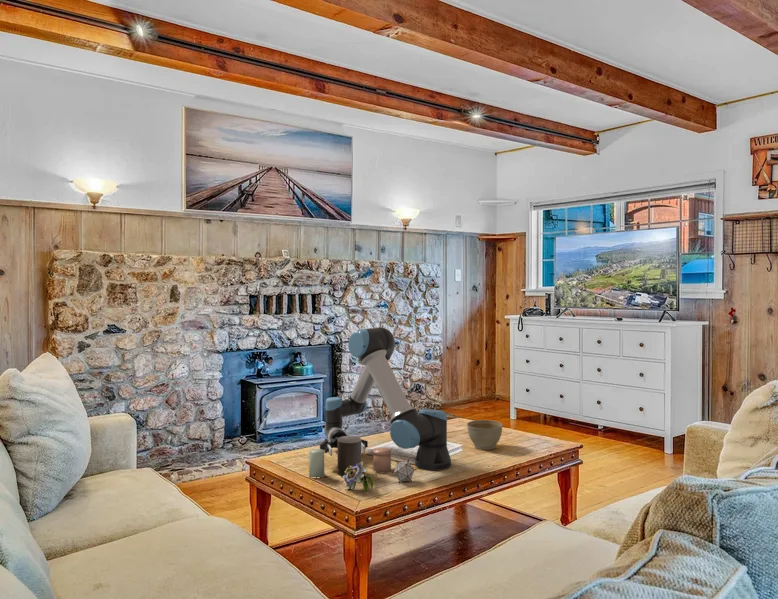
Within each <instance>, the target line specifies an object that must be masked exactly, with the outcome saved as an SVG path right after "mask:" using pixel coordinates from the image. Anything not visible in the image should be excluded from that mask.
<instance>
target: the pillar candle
mask: <svg viewBox="0 0 778 599" xmlns="http://www.w3.org/2000/svg"><path fill="white" fill-rule="evenodd" d="M361 440H363V439H362V438H361V437H359V436H355V435H347V436H343V437H340V438H338V444H337V448H336V449H337V474H338V475H340V476H341V475H342V476H344V475H345V471H346V468H347V467H348V466H349V465H350V466H353V465H355V464H357V463H358V464H360V462H361V461H363V460H362V451H361ZM342 476H341V477H342Z"/></svg>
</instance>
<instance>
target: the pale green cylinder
mask: <svg viewBox="0 0 778 599" xmlns="http://www.w3.org/2000/svg"><path fill="white" fill-rule="evenodd" d="M308 465H309V466H308V476H310V477H316V478H317V477H323V476H324V475H325V473H326V472H325V451H324V450H322V449H320V448H315V449H314V448H313V449H310V450H308ZM310 477H309V478H310ZM324 477H325V476H324ZM324 477H323V478H324Z"/></svg>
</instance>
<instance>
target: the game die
mask: <svg viewBox="0 0 778 599" xmlns="http://www.w3.org/2000/svg"><path fill="white" fill-rule="evenodd" d="M395 462H396V466H395V468H394V470H393V472H391V474H394V476H395V477H396V478H397V479H398V484H401V482H407V481H409V482H410V483H412V482H413V481H412V479H413V475H414V472H415V471H417V468H414V467H413V466H412V464H411V463H410V459H408V460H406V461H398V460H396V461H395Z"/></svg>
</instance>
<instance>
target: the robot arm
mask: <svg viewBox="0 0 778 599" xmlns="http://www.w3.org/2000/svg"><path fill="white" fill-rule="evenodd" d="M395 341H396V339H395V337H394V335H393V332H391V331H390V330H389V329H387V328H386V327H382V326H379V327H371V328H369V327H368V328H360V329H356V330H354V331H352V333H351V334H350V336H349V338H348V344H347V346H348V351H349V353H350V354H351V356H352V357H354V358H357V359H359V360H360V361H359V362H361V364H362V365H364V367H363V369H362V372H361V373H360V375H359V377H358V380H357V382H356V383H355V385H354V388H353V390H352V391H351V393H350V396H348V398H347V399H342V397H339V396H333V397H327V398H326V399H325V408H324V409H325V426H324V429H323V430H324V435H325V437H326V438H325V439H324V441H322V442H321V444H319V449H322V450H324V454H327V453H328V455H329V456H330V457H331V456H333V449H337V444H338V438H340V437H343V436H348V434H346V431H344V430H343V418H345V417H348V416H349V417H350V416H354V415H360V414H362V413H364V412H366V410H367V408H368V406H367V405H368V402H367V399H368V398H369V395H370V394H371V391H372V389H373V387H374V385H376V387H377V390H378V391H379V393H380V395H381V397H382V400H383V402H384V404H385V406H386V408H387V410H388V412H389V414H390V416H391V418H390V421H389V422H390V424H391V425H390V427H389V435H390V438H391V440H392V442H393V443H394V445H395V446H397V447H398V448H401V449H405V450H406V449H414V448H416V447H418V448H417V451H416V454H415V457H414V466H415V467H416V468H419V469H422V470H426V471H427V470H428V471H442V470H446V469H449V468H450V467H451V466H452V458H451V455H450V452H449V448H448V442H447V441H448V437H447V436H448V434H447V433H448V431H447V430H448V428H447V427H448V426H447V425H448V423H447V422H448V420H447V418H448V417H447V413H446V412H445V411H443V410H439V409H432V408H420V409H419V410H418V411H417V409H416V408H415V407H413V406H411V404H410V403H409V400H407V397H406V395H405V393H404V391H403V390H402V387H401V385H400V383H399V382H398V380H397V378H396V375H395V373H394V372H393V370H392V368H391V366H390V363H389V362H388V361H389V360H390V359H391V358H392V356H393V353H394V350H395V346H396V342H395ZM368 442H369V441H368V440H365V439H362V440H361V453H363V454H365V453H366V448H368V447H369V444H368Z"/></svg>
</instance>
